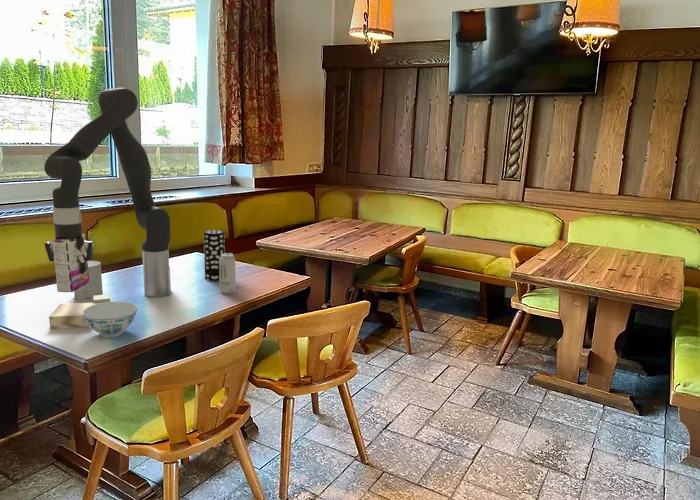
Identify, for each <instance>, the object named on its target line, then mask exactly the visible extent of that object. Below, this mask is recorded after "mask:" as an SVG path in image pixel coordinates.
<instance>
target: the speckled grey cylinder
mask: <svg viewBox="0 0 700 500" xmlns="http://www.w3.org/2000/svg"><path fill="white" fill-rule="evenodd" d="M87 262H88V272H89V283H87V284H85V285H84V286H82V287H80V288H79V289H77V290H75V291H74V296H73V297H74V299H75V298H76V299H75V300H78V301H79V300H80V301H90V300H91V299H92V300H93V296H95V295H104V291H103V279H102V278H103V277H102V276H103V275H102V266H101V265H102V264H101V261H98V260H92V259H91V260H89V261H87Z"/></svg>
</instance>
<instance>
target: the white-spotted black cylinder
mask: <svg viewBox="0 0 700 500" xmlns="http://www.w3.org/2000/svg"><path fill="white" fill-rule="evenodd" d="M225 234H226V233H225V230H222V229H207V230H204V231H203V256H204V257H203V258H204V259H203V260H204V262H203V263H204V280H206V281H209V282H220V281H219V258H220V256H221V254H223V253H226V251H225V250H226V249H225V247H226V246H225V245H226V244H225V243H226V242H225V239H226V238H225Z"/></svg>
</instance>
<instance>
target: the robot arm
mask: <svg viewBox="0 0 700 500" xmlns="http://www.w3.org/2000/svg"><path fill="white" fill-rule="evenodd" d="M138 102H139V101H138V98H137V95H136V94H135V93H134V91H133V90H131V89H129V88H127V87H116V88H107V89H102V91H101V92H100V93H99V96H98V104H99V108H100V112H101V114H100V115H98V116H97V117H96V118H94V119H93V120H91V121H89V122H88V123H86V124H85V125H83V126H82V127H80V129H79V130H78V131H77V132H76V133H75V134H74V135H73V136H72V138H70V140H69V141H68V142H67V143H66V144H64V145H62V146H61V147H60V148H58V149H57V150H55V151H54V152H52V153H51V154H50V155H49V156H48V157H47V158H46V160H45V163H44V172H45V174H46V175H47V176H48V177H49V178H52V179H55V180H61V182H60V183H61V184H60V187H59V186H58V187H55V188H54V189H53V190H52V205H53V212H52V213H53V218H52V221H53V225H54V236H55V239H54V240H56V239H59V238H76V245H77V247H76V246H75V248H76V256H77V257H78V258H79V260H80V261H81V263H80V269H81V274H84V273H85V272H86V270H87V265H86V261H89V260H92V259H93V253H94V247H95V242H94V241H93V240H90V241H89V240H86V239H85V240H84V239H83V235H82V234H83V225H82V223H83V222H82V214H81V208H80V200H79V192H80V187H81V182H82V179H83V177H82V176H83V167H82V164H81V162H82V161H85V160H87V159H88V158H89V157H91V156H92V154H93V153H94V152H95V150H96V149H98V147H99V146H100V144H101V143H102V142H103V141H104V140H105V139H106V138H107V137H108V136H109V135H111V137H112V141H113V143H114V146H115V149H116V152H117V155H118V159H119V163H120V166H121V169H122V172H123V175H124V178H125V180H126V184H127V187H128V190H129V192H130V196H131V199H132V203H133V209H134V214H135V219H136V221H137V224H138V225H139V226H140V227H141V228H142V229H143V230H146V239H145V240H143V242H142V243H141V253H142V257H141V258H142V274H143V275H142V276H143V291H144V296H146V297H150V298H151V297H152V298H153V297H154V298H158V297H164V296H169V295H170V294H171V291H172V288H171V287H172V286H171V285H172V284H171V283H172V282H171V267H170V257H169V254H170V253H169V245H170V241H171V218H170V215H169V212H168V211H167V210H166V209H163V208H162V207H157V206H156V203H155V201H154V198H153V194H152V192H151V183H152V182H151V181H152V168H151V164H150V161H149V158H148V157H149V156H148V154H147V151H146V149H144V147H143V145H142V144H141V143H140V142H139V140H138V139H137V138H136V137H135V136H134V135H133V133H132V132H131V129H130V128H129V127H128V125H127V119H129V118H130V117H131V116H132V115H133V114H134V113H135V112H136V111H137V108H138V106H139V105H138V104H139V103H138ZM80 161H81V162H80ZM84 244H85V246H86V251H87V257H85V255H84V253H83V251H82V249H81V247H82V246H83V245H84ZM44 248H45V250H46V251H45V252H46V254H47V258H48V261H49V262H54V256H53V247H52V241H46V242H45V243H44ZM80 249H81V252H79V250H80Z"/></svg>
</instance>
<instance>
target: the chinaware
mask: <svg viewBox="0 0 700 500" xmlns="http://www.w3.org/2000/svg"><path fill="white" fill-rule="evenodd" d="M137 310H138V307H137V305H136V304H135V303H132V302H129V301H110V302H105V303H100V304H96V305H93V306H90V307H88V308H86V309H85V310H84V311H83V315H84V318H85V320H86V322H87V324H88V325H89V326H90V327H89V328H91V330H93V331H94V332H97V333H99V335H100V336H101V337H103V338H115V337H119V336H121V335H123V334H124V333H125V330H127V329H128V328H129V327H130V326H131V325H132V324H133V321H134V320H135V318H136V316H137Z"/></svg>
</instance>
